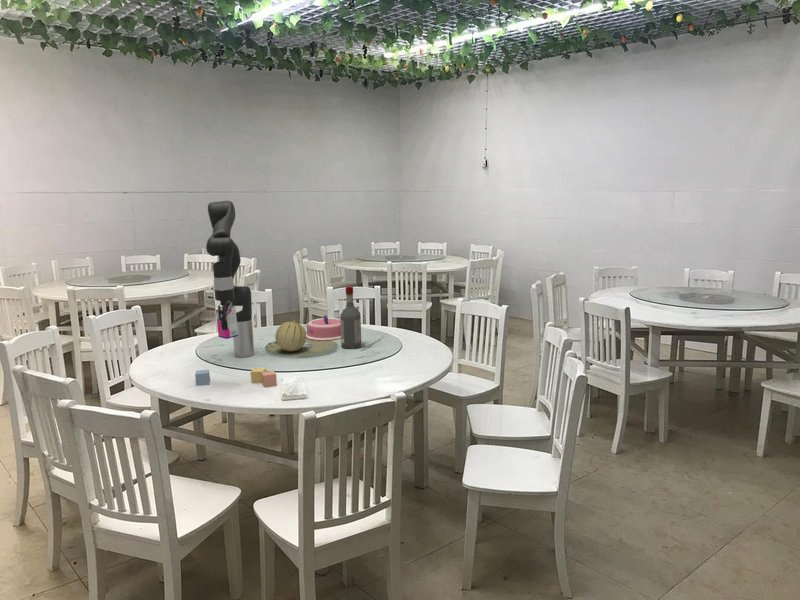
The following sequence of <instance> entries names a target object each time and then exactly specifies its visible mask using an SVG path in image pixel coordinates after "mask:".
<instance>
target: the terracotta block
mask: <svg viewBox="0 0 800 600" xmlns="http://www.w3.org/2000/svg"><path fill="white" fill-rule="evenodd" d="M261 374H262V383H261V384H262V386H263V387H264V388H270V387H277V385H278V383H277V373H276V372H275V370H268V371H267V370H266V372H261Z"/></svg>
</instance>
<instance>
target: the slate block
mask: <svg viewBox="0 0 800 600" xmlns="http://www.w3.org/2000/svg"><path fill="white" fill-rule="evenodd" d="M194 376H195V377H194V379H195V385H196V387H198V385H199V386H208V385H210V382H211V379H210V378H211V377H210V369H201V370H200V369H199V370H196V371H195V374H194Z"/></svg>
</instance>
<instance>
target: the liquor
mask: <svg viewBox="0 0 800 600" xmlns="http://www.w3.org/2000/svg"><path fill="white" fill-rule="evenodd" d="M345 295H346V299H345V300H346V305H345V307H344V309H343V310H342V312H341V313H340V314H339V315H340V316H339V319H340V324H341V339H340V343H341V348H342V349H344V350H356V349H359V348H361V346H362V323H361V321H362V320H361V318H362V317H361V313H360V311H359V309H357V308H356V306H355V304H354V296H353V295H354V286H346V287H345Z"/></svg>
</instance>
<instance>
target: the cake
mask: <svg viewBox="0 0 800 600" xmlns="http://www.w3.org/2000/svg"><path fill="white" fill-rule="evenodd" d="M306 340H310V341H315V342H317V341H318V342H326V341H327V342H329V341H336V340H337V341H338V340H341V324H340V318H337V317H328V316H327V315H323V317H321V318H316V319H312V320H310V321H309V322H307V323H306Z"/></svg>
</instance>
